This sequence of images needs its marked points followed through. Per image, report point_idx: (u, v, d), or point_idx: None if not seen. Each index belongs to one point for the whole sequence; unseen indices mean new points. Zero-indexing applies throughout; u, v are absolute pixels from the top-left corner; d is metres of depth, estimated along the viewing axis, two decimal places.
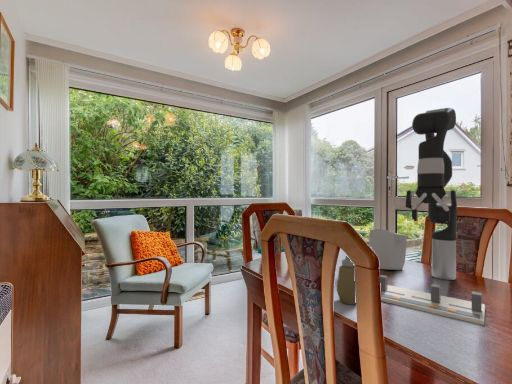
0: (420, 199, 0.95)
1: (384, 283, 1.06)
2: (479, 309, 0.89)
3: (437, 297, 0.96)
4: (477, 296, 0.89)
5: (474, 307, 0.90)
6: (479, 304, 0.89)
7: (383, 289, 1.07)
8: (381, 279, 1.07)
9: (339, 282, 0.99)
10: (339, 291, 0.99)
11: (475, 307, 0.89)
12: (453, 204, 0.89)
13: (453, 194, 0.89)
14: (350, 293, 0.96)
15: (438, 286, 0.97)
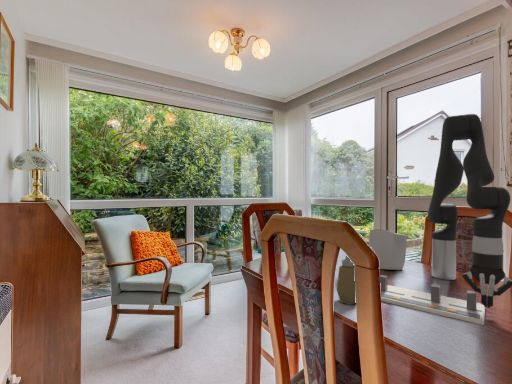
0: (482, 281, 0.88)
1: (384, 283, 1.06)
2: (474, 308, 0.90)
3: (437, 297, 0.96)
4: (472, 295, 0.90)
5: (469, 306, 0.90)
6: (474, 303, 0.90)
7: (383, 289, 1.07)
8: (381, 279, 1.07)
9: (339, 282, 0.99)
10: (339, 291, 0.99)
11: (470, 306, 0.90)
12: (500, 291, 0.86)
13: (509, 285, 0.85)
14: (350, 293, 0.96)
15: (438, 286, 0.97)
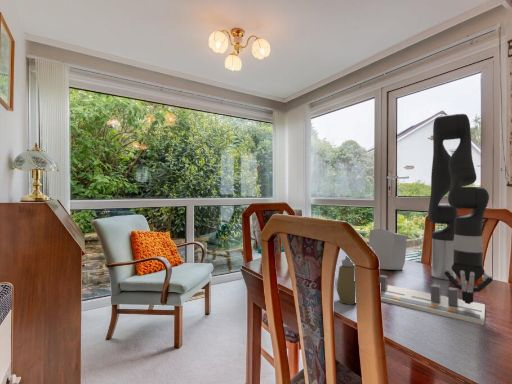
0: (462, 278, 0.91)
1: (384, 283, 1.06)
2: (455, 304, 0.93)
3: (437, 297, 0.96)
4: (453, 292, 0.93)
5: (451, 302, 0.93)
6: (455, 299, 0.93)
7: (383, 289, 1.07)
8: (381, 279, 1.07)
9: (339, 282, 0.99)
10: (339, 291, 0.99)
11: (451, 302, 0.93)
12: (479, 288, 0.89)
13: (488, 281, 0.88)
14: (350, 293, 0.96)
15: (438, 286, 0.97)
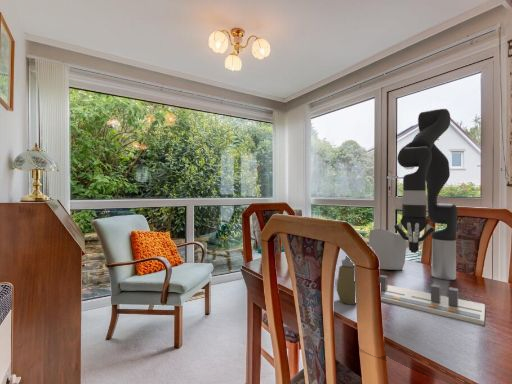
0: (409, 229, 1.01)
1: (384, 283, 1.06)
2: (455, 304, 0.93)
3: (437, 297, 0.96)
4: (453, 292, 0.93)
5: (451, 302, 0.93)
6: (455, 299, 0.93)
7: (383, 289, 1.07)
8: (381, 279, 1.07)
9: (339, 282, 0.99)
10: (339, 291, 0.99)
11: (452, 302, 0.93)
12: (423, 237, 0.98)
13: (430, 231, 0.97)
14: (350, 293, 0.96)
15: (438, 286, 0.97)
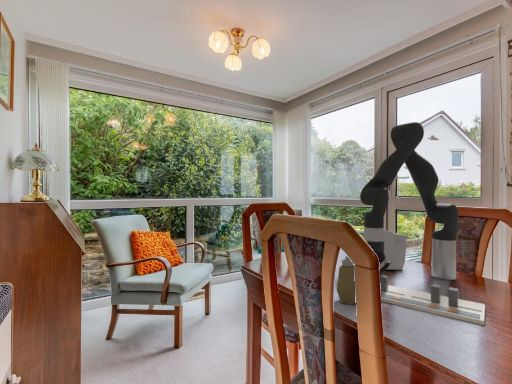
0: None
1: (385, 283, 1.06)
2: (455, 304, 0.93)
3: (437, 297, 0.96)
4: (453, 292, 0.93)
5: (451, 302, 0.93)
6: (455, 299, 0.93)
7: (384, 289, 1.06)
8: (382, 279, 1.07)
9: (339, 282, 0.99)
10: (339, 291, 0.99)
11: (452, 302, 0.93)
12: (381, 271, 1.08)
13: (387, 265, 1.06)
14: (350, 293, 0.96)
15: (438, 286, 0.97)
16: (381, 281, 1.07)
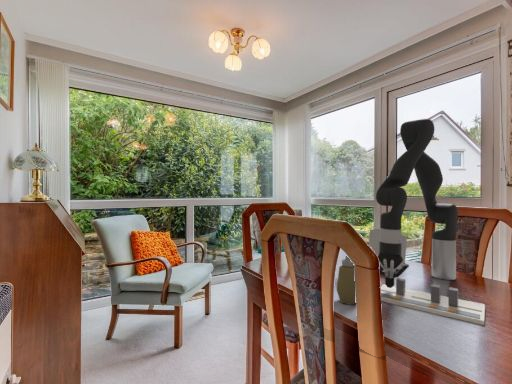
0: (385, 265, 1.06)
1: (402, 287, 1.03)
2: (455, 304, 0.93)
3: (437, 297, 0.96)
4: (453, 292, 0.93)
5: (451, 302, 0.93)
6: (455, 299, 0.93)
7: (401, 293, 1.03)
8: (399, 282, 1.03)
9: (339, 282, 0.99)
10: (339, 291, 0.99)
11: (452, 302, 0.93)
12: (398, 274, 1.04)
13: (404, 268, 1.02)
14: (350, 293, 0.96)
15: (438, 286, 0.97)
16: (398, 284, 1.03)
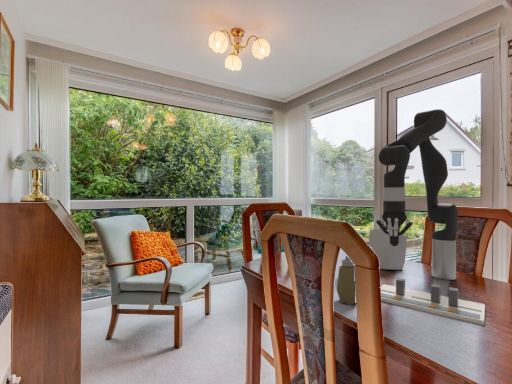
0: (389, 224, 1.07)
1: (402, 287, 1.03)
2: (455, 304, 0.93)
3: (437, 297, 0.96)
4: (453, 292, 0.93)
5: (451, 302, 0.93)
6: (455, 299, 0.93)
7: (401, 293, 1.03)
8: (399, 282, 1.03)
9: (339, 282, 0.99)
10: (339, 291, 0.99)
11: (452, 302, 0.93)
12: (402, 231, 1.04)
13: (408, 225, 1.03)
14: (350, 293, 0.96)
15: (438, 286, 0.97)
16: (398, 284, 1.03)
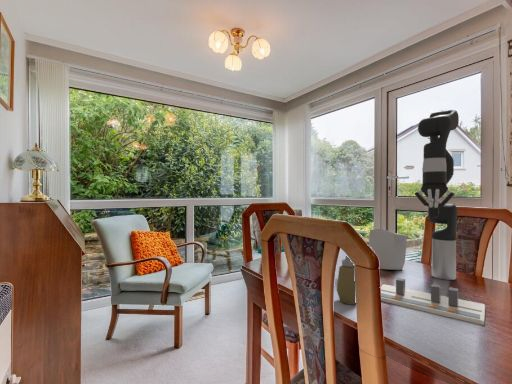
0: (429, 196, 1.06)
1: (402, 287, 1.03)
2: (455, 304, 0.93)
3: (437, 297, 0.96)
4: (453, 292, 0.93)
5: (451, 302, 0.93)
6: (455, 299, 0.93)
7: (401, 293, 1.03)
8: (399, 282, 1.03)
9: (339, 282, 0.99)
10: (339, 291, 0.99)
11: (452, 302, 0.93)
12: (443, 202, 1.03)
13: (450, 195, 1.02)
14: (350, 293, 0.96)
15: (438, 286, 0.97)
16: (398, 284, 1.03)
